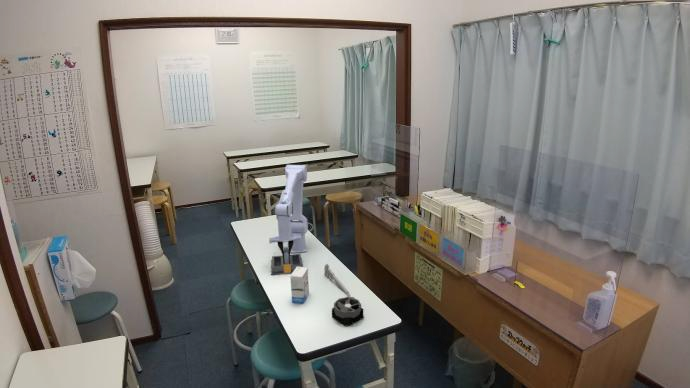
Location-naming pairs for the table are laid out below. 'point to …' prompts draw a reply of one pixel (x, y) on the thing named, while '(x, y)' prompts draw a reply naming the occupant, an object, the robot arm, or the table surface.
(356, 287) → the table surface
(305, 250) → the robot arm
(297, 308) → the table surface
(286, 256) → the panel
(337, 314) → the cpu cooler
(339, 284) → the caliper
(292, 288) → the ink box
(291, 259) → the panel rack
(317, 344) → the table surface
